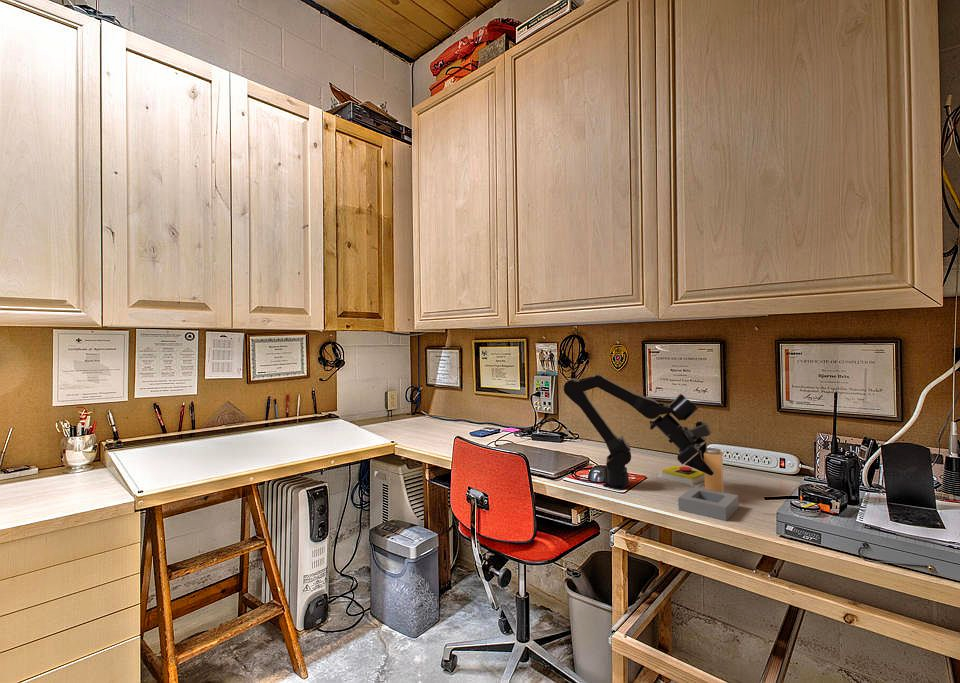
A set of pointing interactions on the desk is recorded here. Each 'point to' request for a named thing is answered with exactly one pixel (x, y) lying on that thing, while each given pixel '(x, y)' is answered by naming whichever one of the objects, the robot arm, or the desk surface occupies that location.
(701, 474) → the emergency button
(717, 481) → the orange bar
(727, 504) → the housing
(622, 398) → the robot arm
